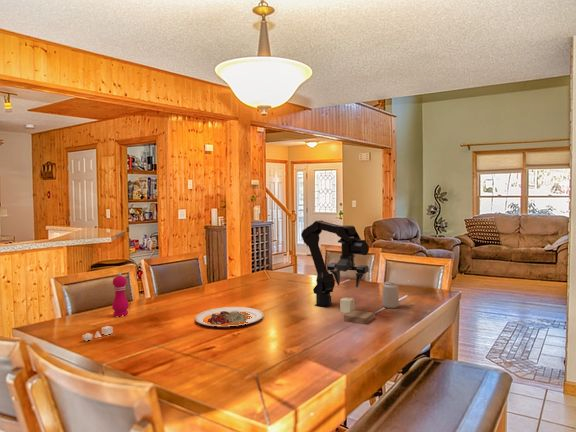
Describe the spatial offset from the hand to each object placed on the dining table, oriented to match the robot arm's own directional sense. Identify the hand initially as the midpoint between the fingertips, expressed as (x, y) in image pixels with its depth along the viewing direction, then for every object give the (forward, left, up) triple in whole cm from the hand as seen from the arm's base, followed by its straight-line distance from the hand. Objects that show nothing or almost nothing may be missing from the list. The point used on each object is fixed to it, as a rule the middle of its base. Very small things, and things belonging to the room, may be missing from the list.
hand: (347, 286), depth 209 cm
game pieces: (-71, -81, -12) cm, 109 cm away
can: (+15, +17, -12) cm, 25 cm away
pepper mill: (-90, -55, -12) cm, 106 cm away
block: (0, 0, -12) cm, 12 cm away
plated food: (-41, -36, -12) cm, 56 cm away
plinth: (+10, -10, -12) cm, 19 cm away
